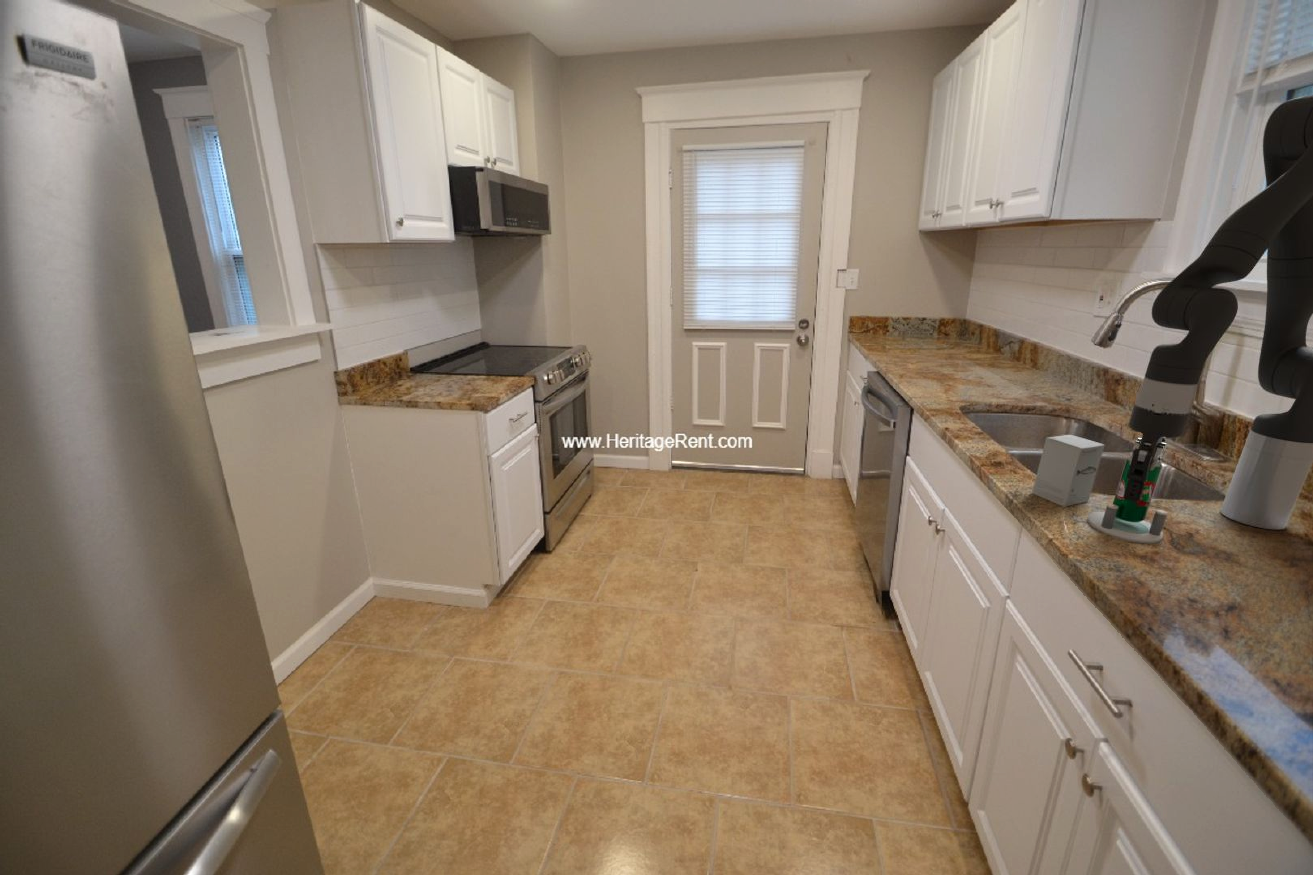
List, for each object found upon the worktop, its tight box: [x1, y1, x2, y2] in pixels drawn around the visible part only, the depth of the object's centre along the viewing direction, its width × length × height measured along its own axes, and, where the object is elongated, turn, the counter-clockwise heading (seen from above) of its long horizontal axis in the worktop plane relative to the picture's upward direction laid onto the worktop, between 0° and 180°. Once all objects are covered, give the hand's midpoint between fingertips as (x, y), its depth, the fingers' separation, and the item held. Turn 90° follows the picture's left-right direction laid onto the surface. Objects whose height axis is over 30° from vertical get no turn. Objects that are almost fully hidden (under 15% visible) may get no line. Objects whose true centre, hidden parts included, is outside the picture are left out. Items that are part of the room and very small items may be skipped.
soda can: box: [1112, 452, 1163, 522], centre depth 106 cm, size 5×5×12 cm
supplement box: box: [1031, 434, 1105, 507], centre depth 120 cm, size 7×7×13 cm
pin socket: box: [1087, 503, 1169, 544], centre depth 108 cm, size 11×11×5 cm
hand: (1134, 495), depth 107 cm, fingers closed on soda can, 5 cm apart
